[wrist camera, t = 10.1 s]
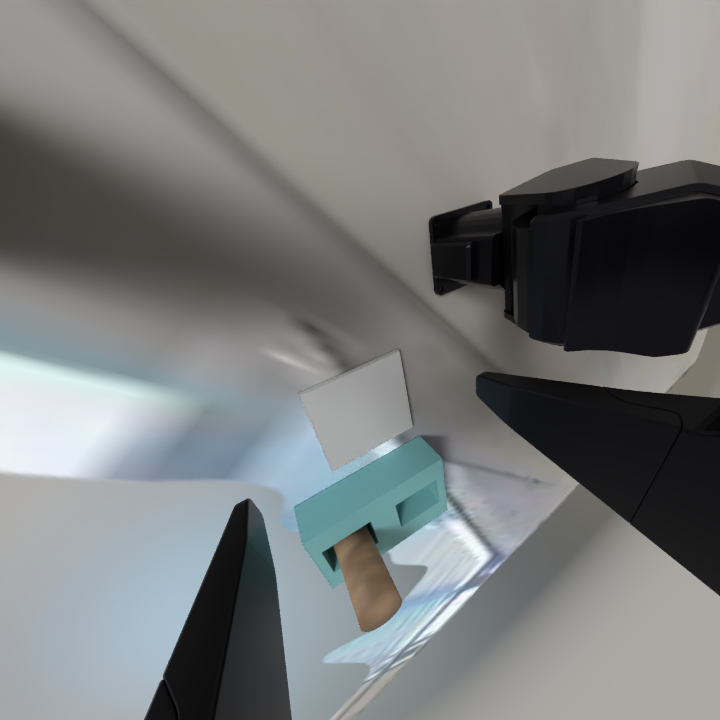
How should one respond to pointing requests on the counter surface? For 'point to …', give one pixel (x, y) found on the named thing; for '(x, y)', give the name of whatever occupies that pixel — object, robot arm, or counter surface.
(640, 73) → the counter surface
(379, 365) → the rubber mat
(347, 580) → the walnut peg
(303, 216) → the counter surface
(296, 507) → the hole block
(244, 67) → the counter surface
